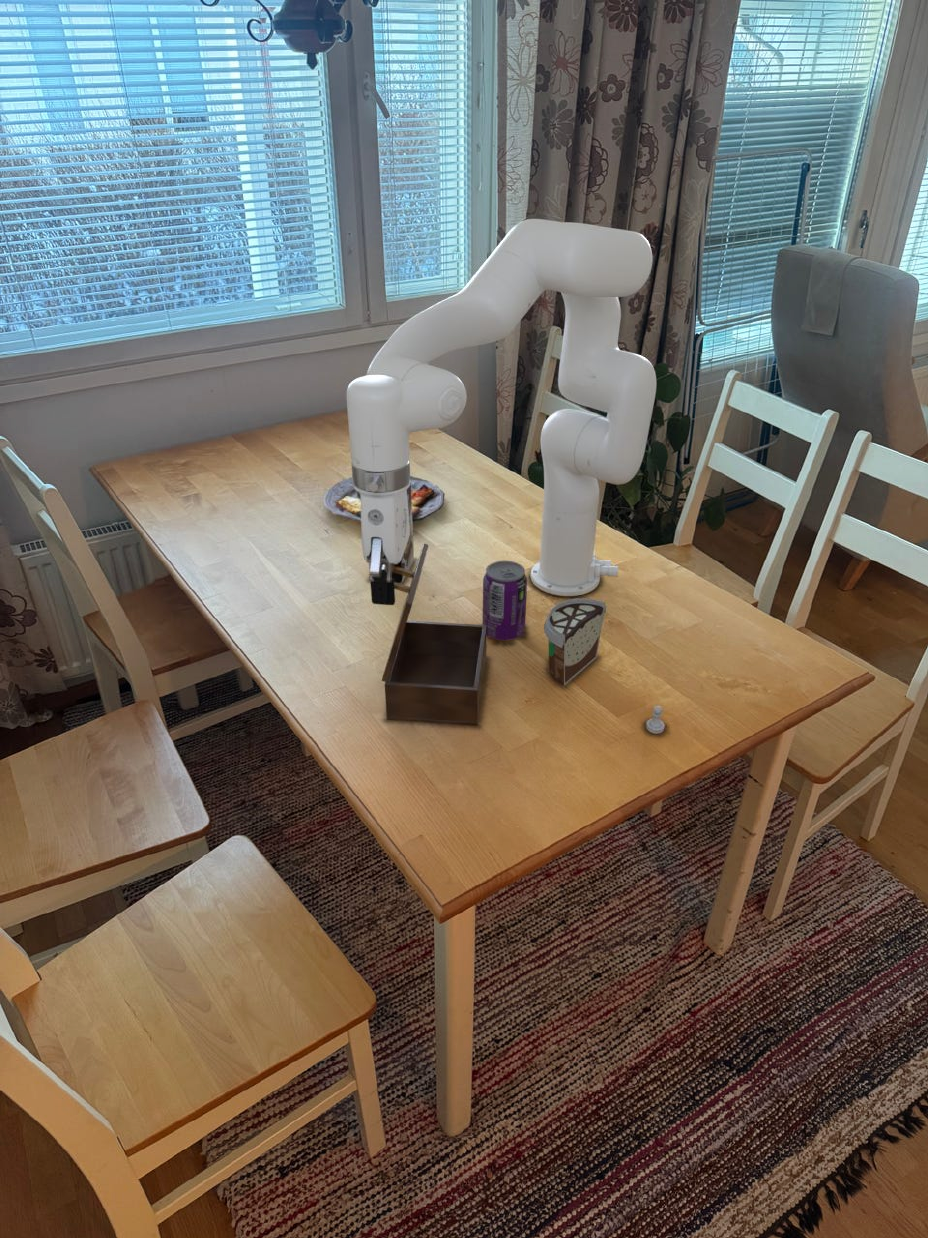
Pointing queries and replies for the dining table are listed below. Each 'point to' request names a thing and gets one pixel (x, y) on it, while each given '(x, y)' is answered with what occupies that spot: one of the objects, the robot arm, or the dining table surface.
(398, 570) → the lid
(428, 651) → the chest
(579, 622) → the food container
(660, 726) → the pawn
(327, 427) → the dining table surface
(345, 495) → the food plate
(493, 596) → the beverage can
